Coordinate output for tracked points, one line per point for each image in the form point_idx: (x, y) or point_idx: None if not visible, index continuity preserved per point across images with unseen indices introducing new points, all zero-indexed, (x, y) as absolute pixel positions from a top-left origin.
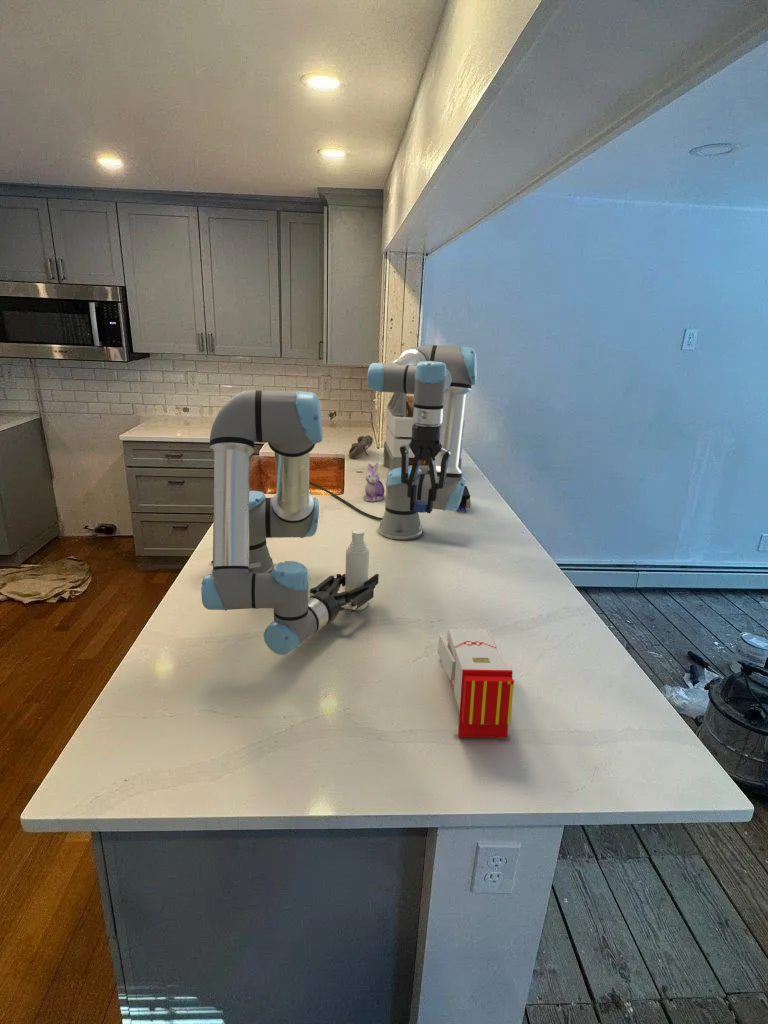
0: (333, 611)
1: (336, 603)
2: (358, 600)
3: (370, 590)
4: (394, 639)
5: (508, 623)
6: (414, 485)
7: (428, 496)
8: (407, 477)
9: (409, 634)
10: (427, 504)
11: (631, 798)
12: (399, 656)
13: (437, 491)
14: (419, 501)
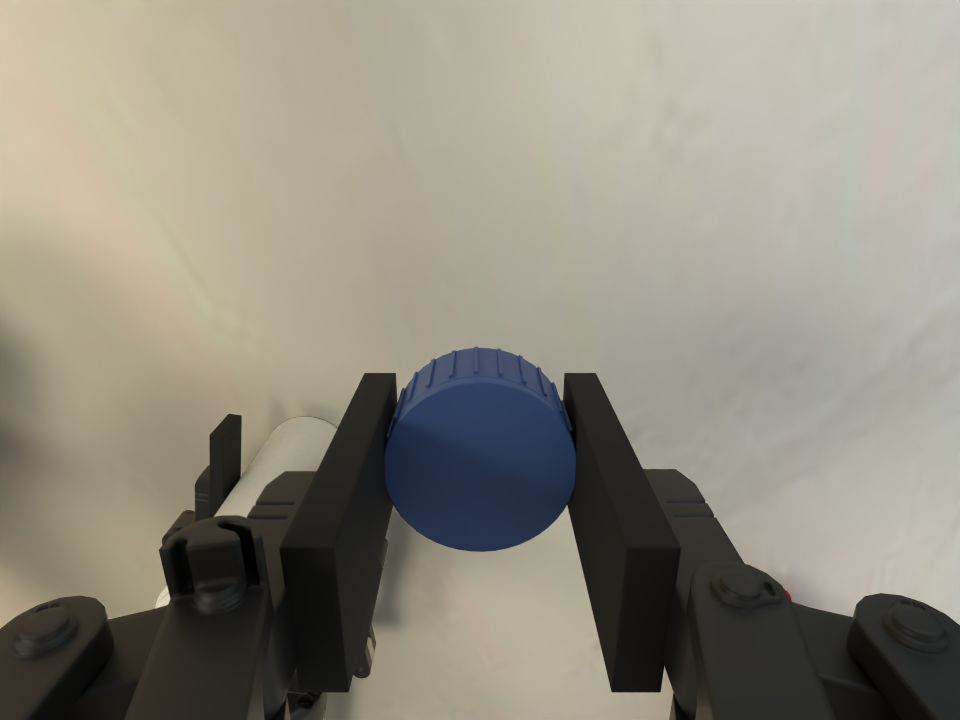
0: (322, 712)
1: (314, 709)
2: (366, 645)
3: (375, 582)
4: (514, 584)
5: (884, 359)
6: (307, 590)
7: (594, 602)
8: (71, 705)
9: (550, 546)
10: (565, 504)
11: None
12: (553, 644)
13: (735, 554)
14: (442, 445)
